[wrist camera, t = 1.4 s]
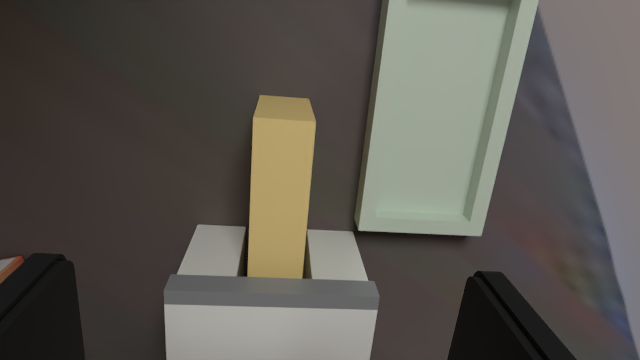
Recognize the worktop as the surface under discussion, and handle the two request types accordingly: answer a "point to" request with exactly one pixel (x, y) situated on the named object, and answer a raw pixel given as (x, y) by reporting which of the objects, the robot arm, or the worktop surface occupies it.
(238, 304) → the notched white block
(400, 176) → the tray
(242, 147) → the worktop surface
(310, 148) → the tan wooden brick
